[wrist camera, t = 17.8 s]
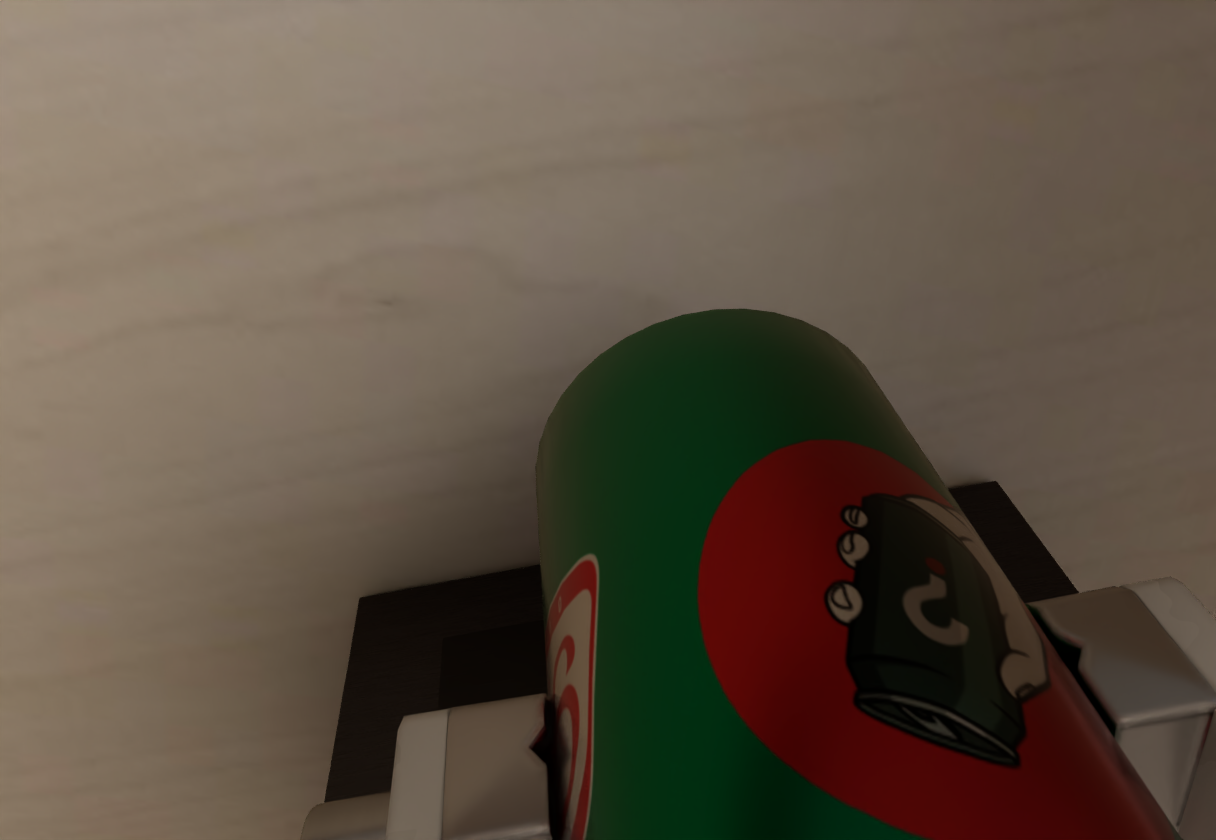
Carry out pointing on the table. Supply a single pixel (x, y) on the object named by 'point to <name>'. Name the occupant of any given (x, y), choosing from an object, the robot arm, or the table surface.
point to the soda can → (791, 615)
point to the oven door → (522, 657)
